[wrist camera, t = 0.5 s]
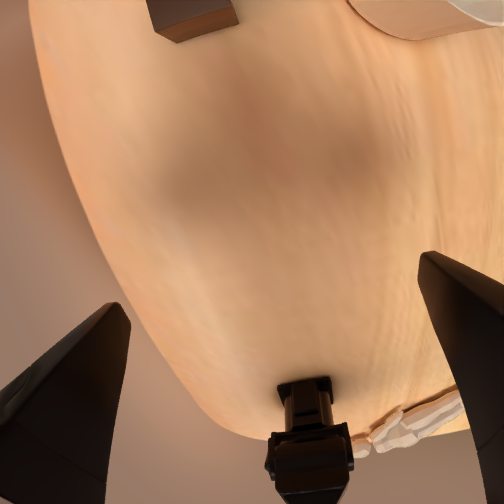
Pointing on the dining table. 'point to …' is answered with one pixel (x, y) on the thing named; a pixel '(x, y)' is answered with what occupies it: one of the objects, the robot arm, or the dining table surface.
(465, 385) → the robot arm
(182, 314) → the dining table surface
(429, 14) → the mug
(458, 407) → the doll
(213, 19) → the walnut block
